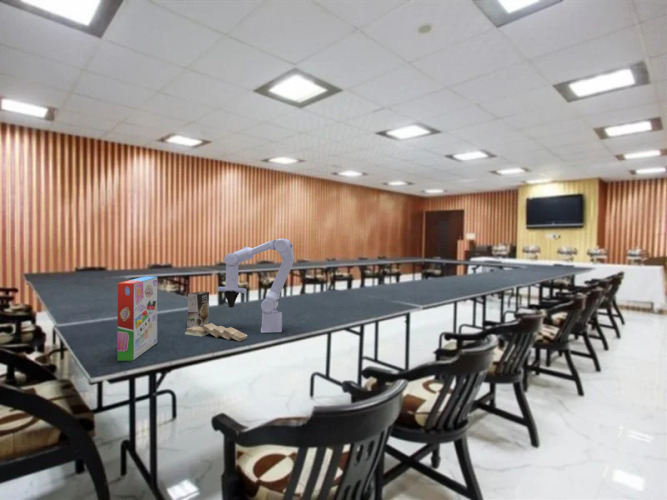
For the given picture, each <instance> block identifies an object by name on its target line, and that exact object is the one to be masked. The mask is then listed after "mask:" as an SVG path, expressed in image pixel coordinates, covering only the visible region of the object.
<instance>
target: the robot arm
mask: <svg viewBox="0 0 667 500" xmlns="http://www.w3.org/2000/svg"><path fill="white" fill-rule="evenodd" d="M269 250H272V251H276V252H277V253H278V254H279V256H280V257H281V259H282V262H281V265H280V266H279V269H278V271H277V273H276V276H275V279H274V281H273V282H272V285H271V287H270V290H269V292H268V293H267V295H266V297H265V299H263V301H262V302H261V304H260V308H261V327H260V333H261V334H262V333H263V334H264V333H265V334H266V333H270V334H271V333H282V332H283V331H282V330H283V312H282V311H279V310H278V309H277V308H278V306H279V299H280V297H281V292H282V290H283V288H284V285H285V283H286V281H287V278H288V276H289V274H290V272H291V269H292V267H293V265H294V261H295V254H294V246H293V244H292V242H291V241H290V239H288V238H278V239H273V240H269V241H266V242H264V243H262V244H260V245H257V246H255V247H249V246H242V249H240V250H234V251H233V253H232V252H229V253H228V254H226V255H225V256H224V259H223V260H224V263H225V286H217V292H224V296H225V298H226V301H227V303H228V308H230V309H231V308H234V307H235V304H236V300H237V298H238V297H239V294H240V293H242V294H247V288H244V287H239V264H241V263H244V262H247V261H249V260H252V259H254V256H255V255H258V254H260V253H264V252H266V251H269Z"/></svg>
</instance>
